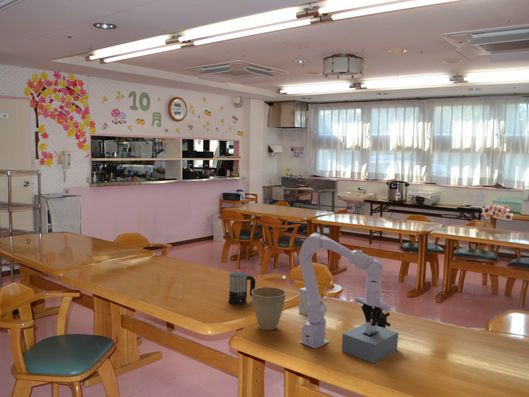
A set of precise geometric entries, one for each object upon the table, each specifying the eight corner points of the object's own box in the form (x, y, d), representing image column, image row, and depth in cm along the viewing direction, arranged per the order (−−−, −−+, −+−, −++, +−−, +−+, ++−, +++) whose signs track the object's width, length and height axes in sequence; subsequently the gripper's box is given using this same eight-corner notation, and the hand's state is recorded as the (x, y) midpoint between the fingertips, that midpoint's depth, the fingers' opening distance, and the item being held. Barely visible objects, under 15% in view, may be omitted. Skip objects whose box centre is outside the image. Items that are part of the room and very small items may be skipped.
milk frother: (235, 306, 227) (236, 277, 225) (217, 298, 239) (217, 270, 237) (257, 301, 236) (258, 273, 235) (238, 293, 248) (239, 266, 247)
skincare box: (305, 310, 225) (306, 286, 224) (312, 312, 223) (314, 288, 222) (298, 313, 221) (299, 288, 220) (305, 315, 218) (306, 290, 217)
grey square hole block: (373, 363, 170) (374, 344, 169) (341, 351, 179) (342, 333, 178) (397, 349, 183) (398, 332, 182) (366, 338, 192) (367, 322, 191)
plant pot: (267, 318, 211) (268, 284, 210) (291, 328, 201) (293, 292, 199) (243, 326, 201) (244, 290, 199) (267, 336, 190) (268, 299, 189)
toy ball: (384, 330, 195) (360, 317, 202) (385, 339, 203) (362, 326, 209) (395, 311, 199) (372, 299, 206) (396, 321, 207) (373, 309, 213)
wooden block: (369, 335, 178) (370, 323, 177) (365, 334, 179) (366, 321, 179) (376, 332, 182) (377, 319, 181) (372, 330, 183) (372, 318, 182)
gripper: (395, 292, 177) (393, 327, 178) (362, 284, 187) (360, 317, 188) (386, 296, 172) (384, 331, 173) (353, 287, 181) (351, 321, 183)
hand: (371, 324), depth 180 cm, fingers closed on wooden block, 2 cm apart
